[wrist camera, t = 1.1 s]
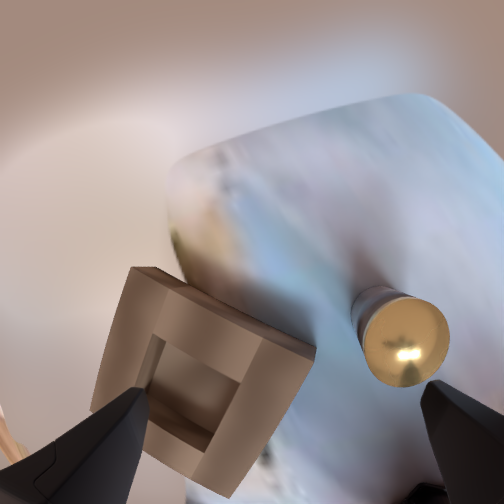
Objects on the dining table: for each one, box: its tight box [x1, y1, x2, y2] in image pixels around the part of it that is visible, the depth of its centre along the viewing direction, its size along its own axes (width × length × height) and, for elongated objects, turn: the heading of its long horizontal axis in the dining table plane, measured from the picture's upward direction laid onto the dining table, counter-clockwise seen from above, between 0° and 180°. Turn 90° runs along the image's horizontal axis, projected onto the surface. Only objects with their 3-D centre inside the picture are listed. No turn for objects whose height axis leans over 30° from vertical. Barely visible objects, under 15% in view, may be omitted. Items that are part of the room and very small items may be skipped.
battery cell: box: [351, 286, 450, 387], centre depth 16 cm, size 4×4×9 cm
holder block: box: [90, 267, 316, 499], centre depth 22 cm, size 14×14×4 cm
